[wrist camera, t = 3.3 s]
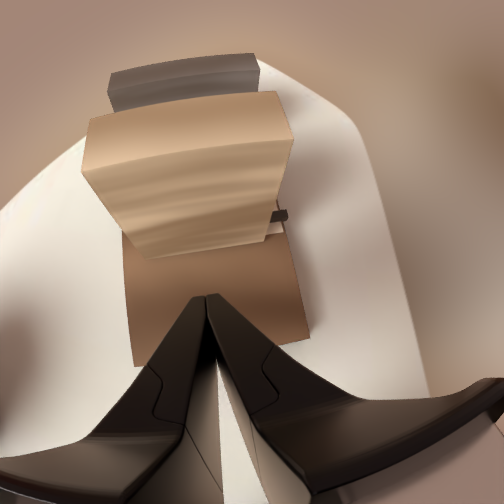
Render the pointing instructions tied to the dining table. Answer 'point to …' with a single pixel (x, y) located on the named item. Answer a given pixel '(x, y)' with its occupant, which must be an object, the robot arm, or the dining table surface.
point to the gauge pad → (191, 171)
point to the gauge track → (215, 260)
